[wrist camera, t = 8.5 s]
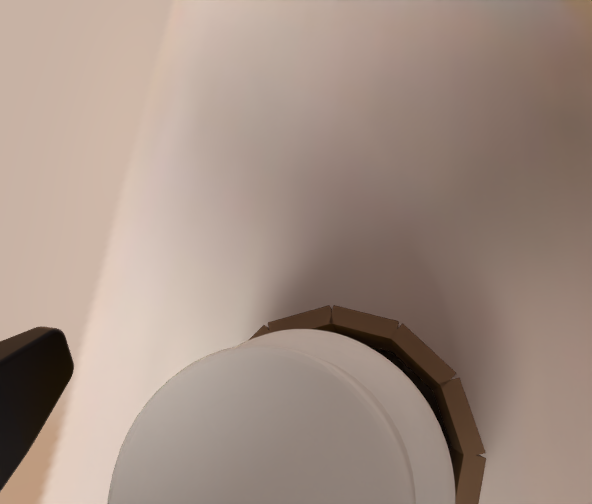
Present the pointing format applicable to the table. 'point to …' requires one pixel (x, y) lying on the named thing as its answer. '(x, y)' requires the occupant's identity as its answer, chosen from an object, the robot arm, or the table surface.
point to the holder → (425, 367)
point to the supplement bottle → (286, 430)
